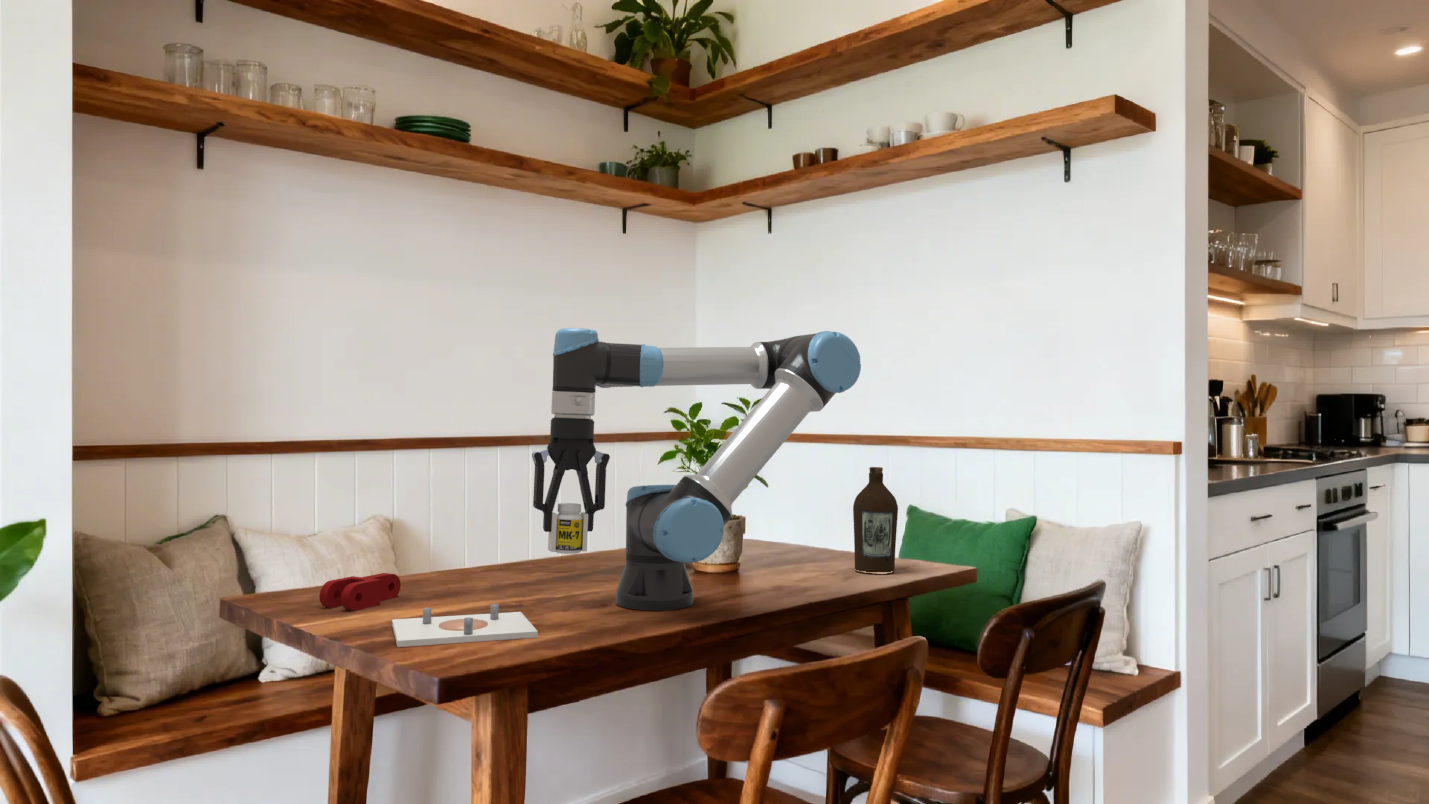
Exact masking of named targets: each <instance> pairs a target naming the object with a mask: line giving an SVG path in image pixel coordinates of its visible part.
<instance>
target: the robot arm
mask: <svg viewBox="0 0 1429 804" xmlns="http://www.w3.org/2000/svg"><path fill="white" fill-rule="evenodd" d="M553 346H554V347H553V352H552V356H553V357H552V361H553V363H552V364H553V365H552V366H553V367H552V369H553V370H552V391H551V406H550V407H551V411H550V412H551V414H552V415H554V417H552V418H551V419H550V434H549V435H550V437H549V443H548V445H547V446H546V448H545V449H542V450H540V451H533V452H532V454H531V457H532V461H533V463H534V479H533V503H532V504H533V505H532V507H533V508H534V509H535V510H539V511H541V512H542V513H543V521H542V522H543V523H542V524H543V525H542V528H543V531H544V532H546V533H548V539H547V541H548V542H547V551H549V552H551V553H556V528H557V514H558V513H556V512H553V511H554V509H555V504H556V503H557V498H558V494H559V490H560V487H561V484H562V480H563V478H564V476H565V472H566V471H571V470H573V471H576V472H575V473H576V475H577V478H578V483H579V488H580V494H581V497H582V502H583V507H584V512H583V511H582V512H580V513H579V514H580V515H581V516H582V518H583V522H582V543H581V552H588V532H593V530H594V521H595V520H594V519H595V517H594V516H595V513H596V512H598V511H601V510H602V511H603V510H604V509H605V505H606V478H607V467H608V464H609V461H610V460H611V459H610V458H611V456H610V454H608V453H605V452H601V451H598V450H597V447H595V444H594V440H595V439H594V436H595V420H594V419H592V417H593V416H594V415H595V414H596V413H595V411H596V410H595V409H596V408H595V407H596V405H595V403H596V393H597V392H596V389H597V388H596V387H599V388H602V389H605V388H606V389H610V388H627V387H628V388H629V387H630V388H631V387H632V388H633V387H639V388H644V387H645V388H646V387H648V388H652V387H660V386H661V387H663V386H664V387H666V386H668V387H669V386H672V387H673V386H676V387H677V386H712V385H713V386H715V385H716V386H717V385H718V386H720V385H723V386H724V385H750V386H751V387H753V388H754V389H755V390H765V389H766V390H768V391H766V394H764V396H763V397H762V398H761V400H759V401H758V402H757V404H756V405H755V406H754V407H753V409H751V410H750V412H749V413H748V414H747V415H746V416H745V418H743V420H742V421H741V422H740V423H739V425H738V426H737V427H736V428H735V429H734V430H733V431H732V433H731V434H730V435H729V436H728V438H726V440H725V441H723V443H722V444H721V446H719V448H718V449H717V450H716V451H715V452H714V454H713V455H711V457H710V458H709V459H708V460H707V461H706V463H705V464H704V465H703V466H702V467H701V469H700V470H699V471H698V472H697V473H696V474H688V475H684V476H683V477H682V478H681V479H680V480H679V482H678V483H677V484H653V485H652V484H651V485H650V484H649V485H636V486H632V487H629V489H628V490H627V494H626V495H627V496H626V501H625V507H626V509H625V511H626V514H625V515H626V516H625V517H626V519H625V523H626V525H625V526H626V528H625V564H624V568H623V570H622V574H621V576H620V579H619V582H618V585H617V588H616V592H615V604H616V605H617V606H620V607H622V608H626V609H631V610H639V611H671V610H672V611H673V610H678V609H679V610H680V609H685V608H689V607H692V606H693V604H694V589H693V587H692V583H691V579H690V576H689V573H688V569H687V566H686V564H689V563H691V564H692V563H697V562H701V561H704V560H705V559H708V558H709V557H710V556H711V555H713V554H714V553H715V551H717V550H718V548H719V546H720V545H721V543H722V541H723V538H724V530H725V529H724V528H725V526H726V525H727V524H728V522H729V521H730V520H731V519H732V517H733V510H732V506H733V503H734V502H735V500H737V499H738V497H739V496H740V495H741V494H742V493H743V492H744V490H745V489H746V488H747V487H748V486H749V484H750V483H751V482H752V481H753V480H754V478H755V477H756V476H757V475H758V473H760V471H761V470H762V469H763V468H764V467H765V465H767V463H768V462H769V461H770V460H771V458H772V457H773V456H774V455H775V453H776V452H777V451H778V450H779V449H780V448H781V446H782V445H783V444H784V443H785V442H786V441H787V439H788V438H789V437H790V436H791V434H792V433H793V432H794V431H795V430H796V429H797V427H799V425H800V424H801V422H802V421H803V420H804V419H805V418H806V417H807V415H809V413H811V412H815V413H816V412H821V411H822V410H823V409H824V408H825V406H826V405H827V404H829V402H830V400H831V399H832V398H833V397H834V396H835V395H836V394H840V393H844V392H846V391H847V390H849V389H850V388H852V387H854V385H855V384H856V383H857V381H858V380H859V377H860V374H861V369H862V364H861V355H860V352H859V350H858V348H857V346H856V343H855V342H854V341H853V340H852V339H851V338H850V337H849V336H847V335H846V334H844V333H842V332H837V331H830V330H823V331H819V332H818V333H810V334H803V335H795V336H790V337H786V338H782V339H781V338H780V339H777V340H771V341H755V342H753V343H752V344H751V345H750V346H716V347H715V346H713V347H712V346H711V347H710V346H708V347H707V346H706V347H705V346H702V347H700V346H699V347H698V346H697V347H696V346H695V347H693V346H692V347H658V346H654V345H646V344H643V343H642V344H633V343H632V344H631V343H615V342H605V341H600V339H599V335H598V332H597V331H596V329H589V328H579V327H565V328H564V327H563V328H559V330H557V331H556V333H555V336H554V345H553ZM548 456H549V457H550V459H551V461H552V462H553V464H554V468H553V471H552V473H553V474H552V477H551V479H550V484H549V487H548V491H547V494H546V497H545V502H544V492H545V491H544V490H545V487H544V486H545V463H546V462H547V461H548V460H547V458H548ZM593 458H594V463H595V464H596V466H595V485H594V500H593V495H592V490H591V485H590V480H589V471H588V464H589V463H590V461H591V460H592V459H593Z"/></svg>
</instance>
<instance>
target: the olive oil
mask: <svg viewBox="0 0 1429 804" xmlns="http://www.w3.org/2000/svg"><path fill="white" fill-rule="evenodd" d="M868 470H869V472H868V483H867V484H866V486H865V487H864V488H863V489H862V490H861V491H860V492H859V493H858V494H857V495H856V497H855V499H854V501H853V507H852V511H853V512H852V514H853V515H852V517H853V540H854V541H853V542H854V543H853V544H854V545H853V546H854V570H855V569H856V570H859V571H866V572H891V571H894V572H895V567H896V565H895V563H896V544H897V529H898V527H897V526H898V516H899V515H898V513H899V505H898V502H897V499H896V497H895V496H894V495H893V493H892V492H891V491H890V490H889V489H888V487H886V485H885V484H884V473H883V470H884V468H883V467H881V466H870V467H869V468H868Z"/></svg>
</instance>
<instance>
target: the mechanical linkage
mask: <svg viewBox="0 0 1429 804" xmlns="http://www.w3.org/2000/svg"><path fill="white" fill-rule="evenodd" d="M401 585H402V584H401V579H400V576H398V575H397V574H395V573H387V572H381V573H377V574H372V575H366V576H362V577H361V576H354V575H352V576H346V577H343V578H337V579H331V580H328V581H326V582H325V583H324V584H322V586H321V588H320V590H319V602H320V604H321V605H322V606H323V608H329V609H335V608H339V607H343V609H345V610H346V611H351V612H353V611H354V612H355V611H361V610H365V609H369V608H372V607H377V606H380V605H381V602H383V601H387V600H390V599H395V598H396V597H398V595H399V593H400V590H401Z"/></svg>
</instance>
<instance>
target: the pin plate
mask: <svg viewBox="0 0 1429 804" xmlns="http://www.w3.org/2000/svg"><path fill="white" fill-rule="evenodd" d="M499 607H500V604H499V603H491V604H490V610H489V611H490V613H475V614H461V615H460V614H459V615H458V614H457V615H446V616H445V615H444V616H442V615H441V616H432V613H433V612H432V609H433V608H432V607H423V608H422V617H412V618H410V617H409V618H396V619H392V620H391V627H392V631H393V634H394V635H393V636H394V639H395V643H396V644H395V645H396V647H397V648H404V647H405V648H407V647H420V646H432V645H433V646H435V645H445V644H446V645H447V644H450V645H451V644H459V643H460V644H463V643H477V642H478V643H479V642H490V641H492V642H493V641H505V640H506V641H508V640H519V639H520V640H521V639H535V638H538V636H539V635H538V634H539V633H538V632H539V631H538V630H537V628H535V626H534V625H533V624H532V623H531V622H530V620H529V619H527V617H526V616H525V615H524V614H523V613H522V611H513V612H500V611H499V610H500V608H499Z"/></svg>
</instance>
